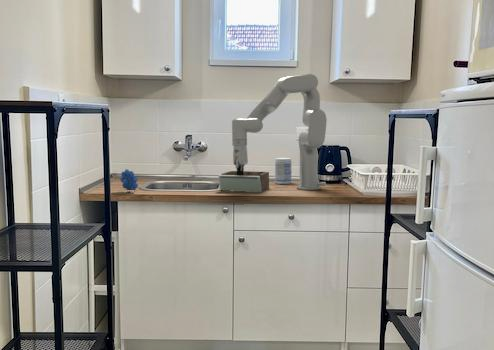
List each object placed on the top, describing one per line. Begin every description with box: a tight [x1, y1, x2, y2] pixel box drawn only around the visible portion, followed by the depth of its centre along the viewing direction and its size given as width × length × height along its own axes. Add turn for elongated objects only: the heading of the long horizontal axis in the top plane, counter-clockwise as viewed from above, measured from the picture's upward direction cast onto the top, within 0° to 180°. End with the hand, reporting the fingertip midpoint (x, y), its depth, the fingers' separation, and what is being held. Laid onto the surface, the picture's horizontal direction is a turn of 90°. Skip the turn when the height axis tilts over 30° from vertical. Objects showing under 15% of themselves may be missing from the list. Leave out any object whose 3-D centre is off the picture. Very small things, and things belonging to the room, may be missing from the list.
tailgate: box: [218, 174, 263, 193], centre depth 243 cm, size 22×1×9 cm, turn 73°
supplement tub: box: [274, 157, 292, 185], centre depth 275 cm, size 10×10×15 cm
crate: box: [221, 170, 270, 193], centre depth 252 cm, size 22×15×9 cm, turn 73°
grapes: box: [120, 168, 139, 191], centre depth 244 cm, size 12×7×12 cm, turn 59°
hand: (240, 178), depth 243 cm, fingers closed
